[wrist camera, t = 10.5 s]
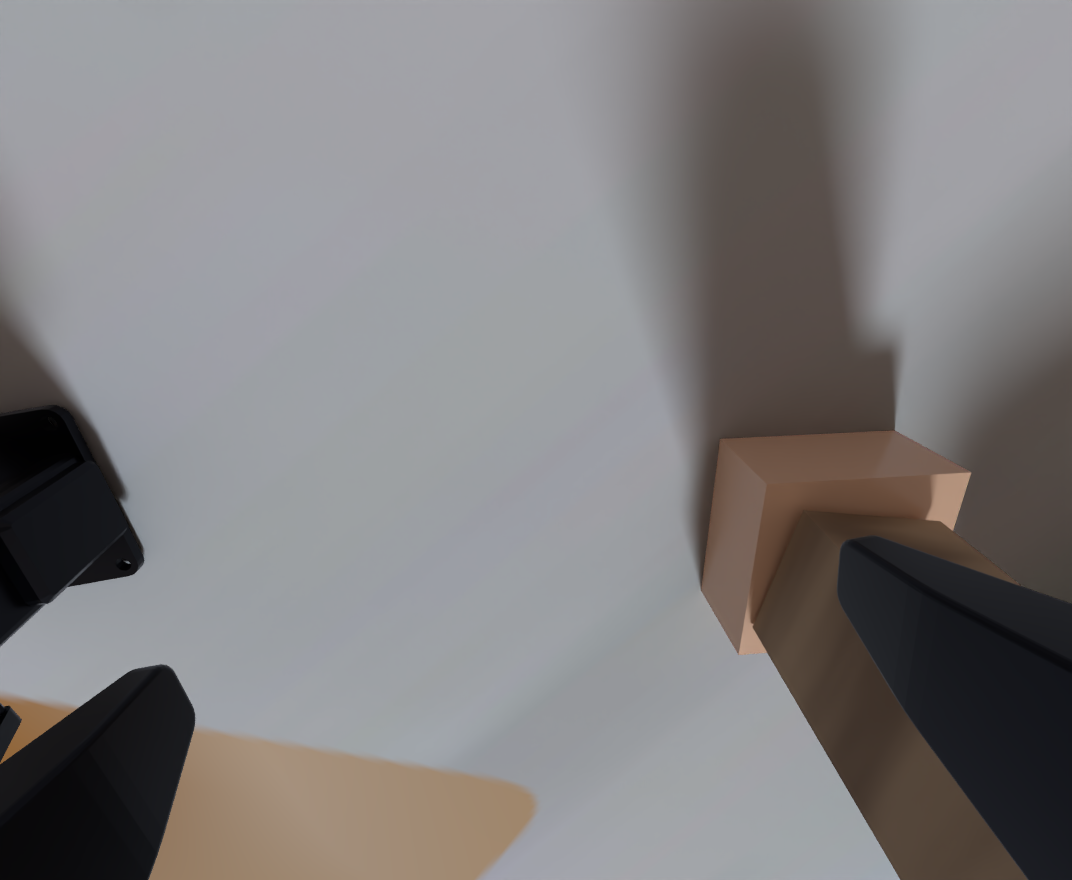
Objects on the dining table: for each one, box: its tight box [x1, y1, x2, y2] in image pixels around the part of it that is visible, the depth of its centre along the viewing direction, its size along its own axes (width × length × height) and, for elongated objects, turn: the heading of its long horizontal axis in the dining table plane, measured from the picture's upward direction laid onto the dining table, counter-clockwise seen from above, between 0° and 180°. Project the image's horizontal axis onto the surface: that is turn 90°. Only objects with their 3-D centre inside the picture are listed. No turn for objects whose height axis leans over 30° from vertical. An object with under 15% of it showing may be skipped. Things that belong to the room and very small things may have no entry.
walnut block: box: [753, 510, 1028, 880], centre depth 14 cm, size 5×5×13 cm
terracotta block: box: [701, 430, 971, 655], centre depth 22 cm, size 7×7×4 cm
